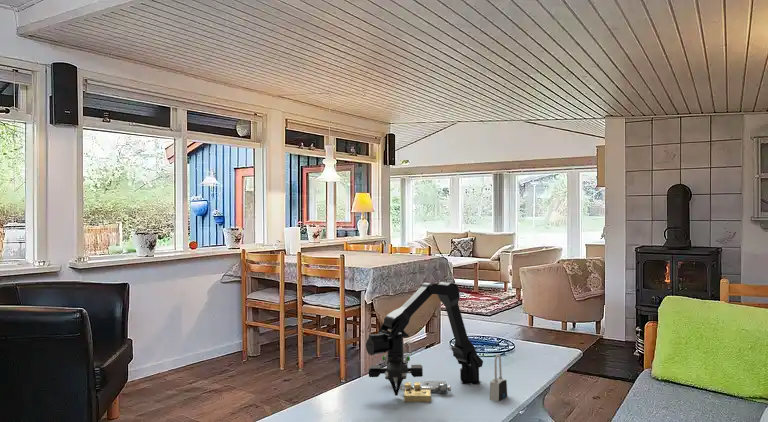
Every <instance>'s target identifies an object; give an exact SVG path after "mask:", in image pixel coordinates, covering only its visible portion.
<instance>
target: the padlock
mask: <svg viewBox="0 0 768 422" xmlns="http://www.w3.org/2000/svg"><path fill="white" fill-rule="evenodd" d="M501 357H502V356H501V355H500V354H496V355H495V358H494V378H493V379H492V380H491V381H489V400H490V401H495V402H501V401H503V400H505V399H506V398H507V397H508V383H507V381H508V380H507V379H504V378H503V375H502V374H503V373H502V372H503V371H502V358H501ZM497 361H498V363H497ZM497 364H498V365H499V366H498V365H497ZM498 367H499V368H498ZM498 369H499V377H498V373H497V372H498V371H497V370H498Z"/></svg>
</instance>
